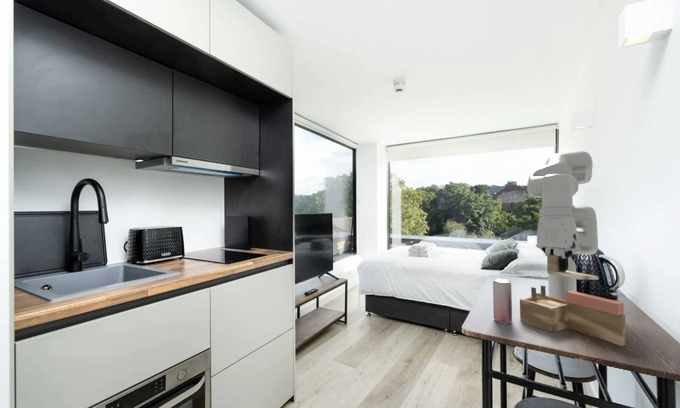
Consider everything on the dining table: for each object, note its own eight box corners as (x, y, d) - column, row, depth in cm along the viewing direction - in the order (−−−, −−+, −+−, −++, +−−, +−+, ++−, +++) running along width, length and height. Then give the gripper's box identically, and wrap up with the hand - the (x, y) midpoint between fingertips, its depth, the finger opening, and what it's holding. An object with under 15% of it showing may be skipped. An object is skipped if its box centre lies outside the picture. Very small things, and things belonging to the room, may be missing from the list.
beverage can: (490, 318, 109) (489, 278, 110) (505, 317, 110) (504, 278, 110) (500, 324, 103) (499, 282, 104) (516, 323, 104) (515, 282, 104)
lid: (567, 273, 97) (568, 255, 97) (598, 279, 89) (599, 260, 89) (546, 273, 93) (547, 254, 93) (577, 279, 85) (578, 258, 85)
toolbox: (542, 314, 112) (542, 285, 112) (629, 343, 88) (628, 305, 88) (519, 320, 107) (519, 289, 107) (605, 352, 83) (604, 312, 83)
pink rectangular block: (572, 300, 101) (571, 290, 101) (623, 314, 88) (623, 302, 88) (566, 301, 100) (566, 291, 100) (618, 315, 87) (618, 304, 87)
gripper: (524, 212, 99) (525, 266, 99) (578, 213, 84) (579, 276, 84) (538, 212, 102) (539, 264, 102) (593, 212, 87) (594, 273, 87)
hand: (557, 269), depth 93 cm, fingers closed on lid, 2 cm apart
